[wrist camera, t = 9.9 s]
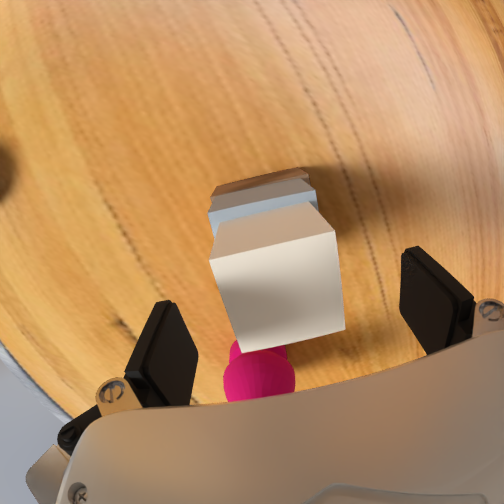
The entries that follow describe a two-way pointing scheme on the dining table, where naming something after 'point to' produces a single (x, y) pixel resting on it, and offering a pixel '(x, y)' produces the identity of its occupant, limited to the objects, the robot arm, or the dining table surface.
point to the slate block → (260, 200)
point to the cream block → (279, 276)
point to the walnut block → (261, 181)
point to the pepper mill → (258, 373)
